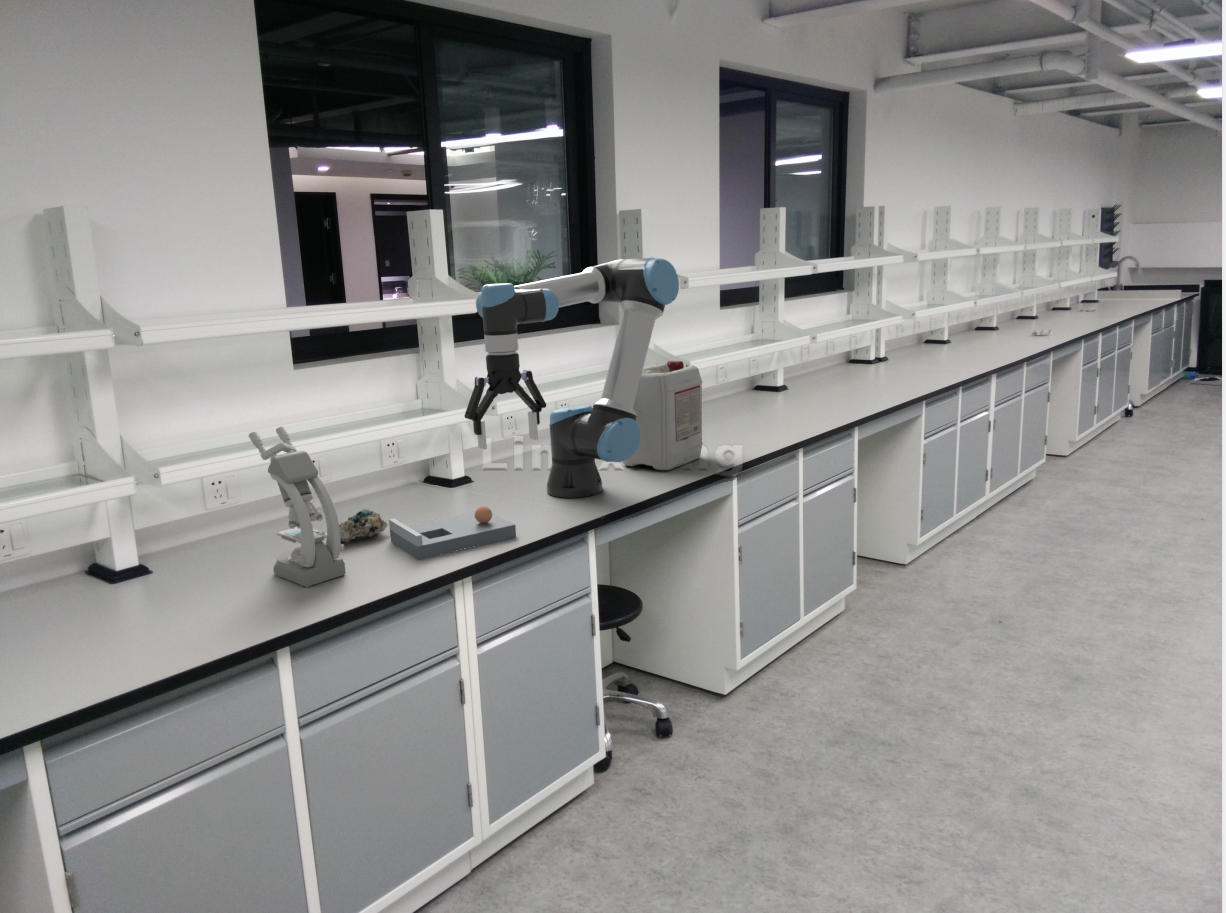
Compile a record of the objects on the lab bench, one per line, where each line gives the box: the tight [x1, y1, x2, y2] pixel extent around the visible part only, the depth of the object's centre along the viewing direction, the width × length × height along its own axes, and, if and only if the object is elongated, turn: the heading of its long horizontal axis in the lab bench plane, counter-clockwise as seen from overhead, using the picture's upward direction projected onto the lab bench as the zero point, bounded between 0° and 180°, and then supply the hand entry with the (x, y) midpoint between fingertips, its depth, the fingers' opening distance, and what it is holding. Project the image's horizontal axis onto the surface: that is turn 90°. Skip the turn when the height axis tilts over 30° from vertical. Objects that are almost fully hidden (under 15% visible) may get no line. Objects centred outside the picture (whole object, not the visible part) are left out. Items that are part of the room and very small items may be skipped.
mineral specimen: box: [339, 509, 389, 544], centre depth 210 cm, size 12×9×8 cm
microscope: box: [248, 426, 346, 588], centre depth 185 cm, size 11×19×30 cm, turn 49°
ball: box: [474, 505, 493, 523], centre depth 209 cm, size 4×4×4 cm
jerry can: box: [622, 360, 704, 471], centre depth 271 cm, size 24×19×30 cm
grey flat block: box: [388, 511, 517, 561], centre depth 207 cm, size 24×16×5 cm, turn 125°
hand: (508, 443), depth 210 cm, fingers open, 13 cm apart
